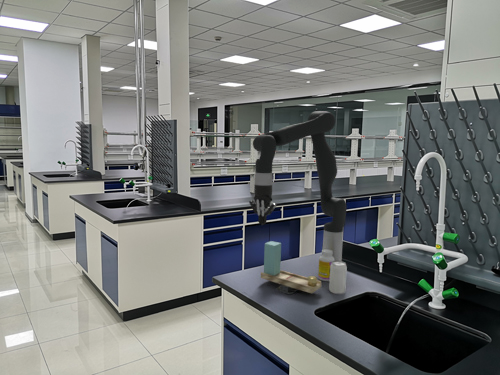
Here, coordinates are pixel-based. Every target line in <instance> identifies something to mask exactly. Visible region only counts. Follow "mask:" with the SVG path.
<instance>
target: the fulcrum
mask: <svg viewBox="0 0 500 375" xmlns="http://www.w3.org/2000/svg"><path fill="white" fill-rule="evenodd" d="M275 290H276V291H277V290H278V291H277V292H280V291H281V293H284V294H287V295H290V296H291V295H293V293H296V292H297V291H299V289H295V288H292V287H289V286H285V285H282V284H280V285H279V286H277V287H276V288H275Z"/></svg>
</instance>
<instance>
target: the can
mask: <svg viewBox="0 0 500 375" xmlns="http://www.w3.org/2000/svg"><path fill="white" fill-rule="evenodd" d="M347 268H348V267H347V263H346V262H344V261H343V260H341V261H332V264H331V266H330V281H329V286H328V290H329V292H330V293H331V294H335V295H343V294H345V293H346V289H347V288H346V286H347V272H348V270H347Z"/></svg>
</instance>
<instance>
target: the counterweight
mask: <svg viewBox="0 0 500 375" xmlns="http://www.w3.org/2000/svg"><path fill="white" fill-rule="evenodd" d="M307 277H308V286H311V287H316V286H317V280H318V277H317V276H314V275H309V276H307Z"/></svg>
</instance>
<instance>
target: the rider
mask: <svg viewBox="0 0 500 375" xmlns="http://www.w3.org/2000/svg"><path fill="white" fill-rule="evenodd" d="M263 252H264V256H263V257H264V258H263V263H264V264H263V273H266V274H270V275H273V276H275V275H277V274H279V273H280V270H281V262H282V261H281V259H282V257H281V254H282V243H281V242H277V241H272V240H270V241H267V242H265V243H264V251H263Z"/></svg>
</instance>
